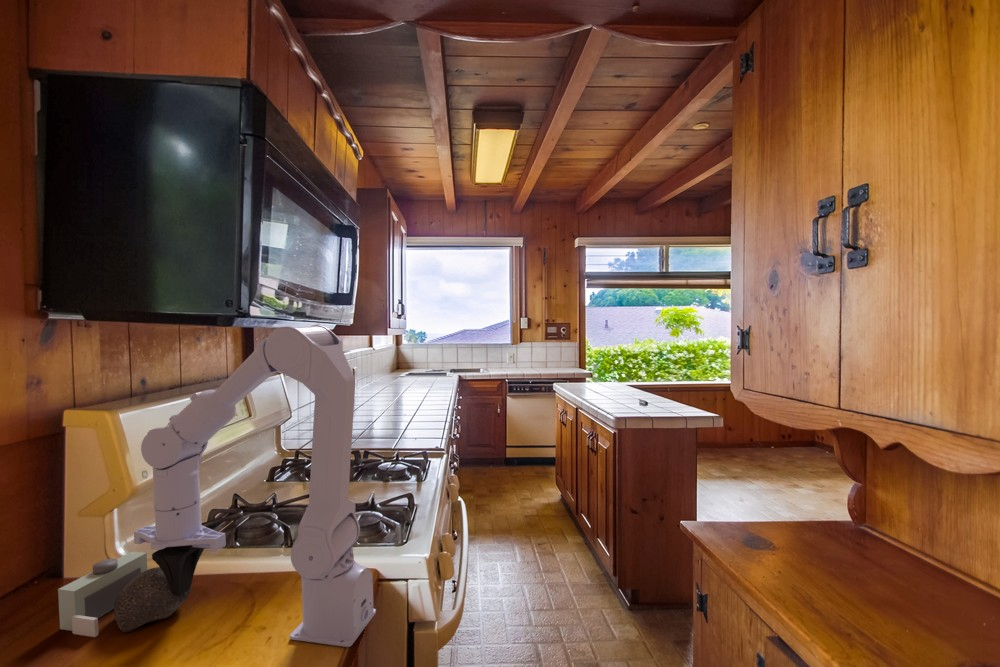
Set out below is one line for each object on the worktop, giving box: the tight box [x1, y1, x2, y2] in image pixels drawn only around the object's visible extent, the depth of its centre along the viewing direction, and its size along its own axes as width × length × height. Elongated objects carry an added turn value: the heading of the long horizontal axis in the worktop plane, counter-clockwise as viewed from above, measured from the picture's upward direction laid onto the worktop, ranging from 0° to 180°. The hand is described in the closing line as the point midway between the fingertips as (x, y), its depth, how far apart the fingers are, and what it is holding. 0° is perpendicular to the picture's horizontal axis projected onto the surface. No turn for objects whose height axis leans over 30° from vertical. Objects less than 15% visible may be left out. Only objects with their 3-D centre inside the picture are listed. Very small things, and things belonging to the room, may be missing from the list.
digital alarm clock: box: [57, 551, 148, 638], centre depth 74 cm, size 7×12×7 cm, turn 168°
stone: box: [113, 566, 192, 633], centre depth 72 cm, size 10×8×10 cm
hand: (181, 591), depth 71 cm, fingers closed
